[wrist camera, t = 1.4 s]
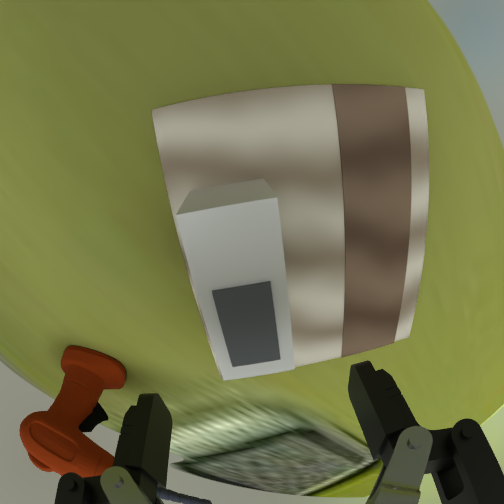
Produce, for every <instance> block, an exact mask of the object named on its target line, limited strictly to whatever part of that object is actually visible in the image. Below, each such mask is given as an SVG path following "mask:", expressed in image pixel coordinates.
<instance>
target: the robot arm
mask: <svg viewBox="0 0 504 504" xmlns="http://www.w3.org/2000/svg"><path fill="white" fill-rule="evenodd" d="M348 393H349V397H350V400H351V403H352V405H353V408H354V410H355V413H356V416H357V418H358V421H359V423H360V426H361V428H362V431H363V434H364V436H365V439H366V441H367V444H368V447H369V449H370V452H371V455H372V457H373V460H375V459H378V458H382V461H383V466H382V469H381V471H380V474H379V476H378V478H377V481H376V483H375V485H374V487H373V490H372V492H371V494H370V496H369V498H368V500H367V502H366V504H418V502H419V499H420V491H419V488H420V485H421V482H422V478H423V475H424V474H428V473H431V474H432V477H433V479H434V482H435V485H436V488H437V491H438V494H439V497H440V499H441V503H442V504H504V475H503V472H502V470H501V468H500V465H499V463H498V461H497V459H496V457H495V455H494V453H493V451H492V449H491V447H490V445H489V443H488V441H487V439H486V437H485V435H484V433H483V431H482V429H481V427H480V425H479V424H478V423H477V422H476V421H474V420H472V419H462V420H460V421H458V422H457V423H456V424H455V425H454V427H453V428H447V429H441V430H428V429H426V428H424V427H421V426H420V425H419V424H418V423H417V421H416V420H415V418H414V416H413V414H412V412H411V410H410V408H409V407H408V405H407V403H406V401H405V399H404V397H403V395H401V392H400V390H399V388H397V385H396V383H395V381H394V379H393V377H392V376H391V375H390V374H388V373H387V372H386V371H385V370H383V369H381V370H377V371H375V369H374V367H373V366H372V364H371V362H370V361H364V362H361V363H357V364H353V365H351V368H350V376H349V384H348ZM122 425H123V426H122V428H121V432H120V433H121V435H120V436H119V440H118V444H117V449H116V453H115V458H114V462H113V465H112V467H110V468H108V469H106V470H105V471H104V472H103V474H102V475H99V476H92V477H84V478H82V477H81V476H80V475H78V474H77V473H74V472H69V473H66V474H64V475H63V476H62V477H61V478H60V480H59V483H58V488H57V493H56V498H55V504H164V503H163V502H162V500H161V499H160V498H159V496H158V495H157V487H164V488H166V481H167V468H168V459H169V450H170V441H171V432H172V417H171V414H170V412H169V410H168V409H167V407H166V405H165V404H164V402H163V400H162V399H161V397H160V395H159V394H157V393H152V394H140V395H139V398H138V402H137V406H131V407H130V408H129V409H128V411H127V412H126V414H125V416H124V420H123V424H122Z"/></svg>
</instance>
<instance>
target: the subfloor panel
mask: <svg viewBox="0 0 504 504" xmlns="http://www.w3.org/2000/svg"><path fill="white" fill-rule="evenodd" d="M151 111H152V117H153V122H154V128H155V133H156V139H157V144H158V149H159V154H160V159H161V164H162V169H163V174H164V178H165V183H166V187H167V192H168V196H169V201H170V205H171V209H172V213H173V217H174V222H175V226H176V230H177V234H178V238H179V241H180V245H181V249H182V253H183V257H184V260H185V264H186V268H187V271H188V275H189V278H190V282H191V285H192V289H193V292H194V296H195V299H196V302H197V306H198V309H199V312H200V316H201V319H202V322H203V325H204V329H205V332H206V335H207V338H208V341H209V344H210V347H211V350H212V353H213V356H214V359H215V362H216V365H217V368H218V371H219V374H220V376H221V379H222V378H223V377H222V374H221V371H220V368H219V365H218V362H217V359H216V356H215V353H214V350H213V347H212V343H211V340H210V337H209V334H208V331H207V328H206V324H205V321H204V318H203V315H202V311H201V308H200V304H199V301H198V298H197V294H196V291H195V287H194V284H193V280H192V277H191V273H190V269H189V266H188V262H187V258H186V254H185V251H184V247H183V243H182V239H181V235H180V231H179V227H178V223H177V219H176V214H177V212H178V210H179V208H180V207H181V205H182V203H183V202H184V200H185V198H186V196H187V195H188V193H189V191H193V190H198V189H203V188H209V187H214V186H220V185H225V184H231V183H237V182H243V181H249V180H255V179H262V178H264V179H265V181H266V182H267V183H268V185H269V186H270V188H271V189H272V191H273V192H274V193H275V195H276V196H277V200H278V208H279V216H280V224H281V233H282V241H283V250H284V259H285V268H286V278H287V288H288V298H289V308H290V319H291V330H292V341H293V353H294V366H295V367H297V366H302V365H307V364H311V363H316V362H321V361H325V360H329V359H333V358H337V357H346V356H350V355H354V354H357V353H361V352H365V351H368V350H372V349H375V348H379V347H382V346H385V345H388V344H392V343H394V342H395V341H398V340H401V339H404V338H407V337H409V335H410V331H411V326H412V322H413V317H414V313H415V308H416V303H417V297H418V292H419V286H420V280H421V273H422V266H423V259H424V251H425V242H426V231H427V218H428V200H429V145H428V127H427V114H426V104H425V95H424V89H415V88H406V87H397V86H383V85H361V84H332V85H304V86H289V87H277V88H266V89H257V90H249V91H242V92H235V93H229V94H222V95H217V96H211V97H206V98H200V99H195V100H191V101H186V102H182V103H177V104H173V105H169V106H165V107H161V108H157V109H153V110H151Z"/></svg>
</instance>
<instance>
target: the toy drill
mask: <svg viewBox="0 0 504 504" xmlns="http://www.w3.org/2000/svg"><path fill="white" fill-rule="evenodd" d="M61 367H62V370H63V371H64V372H65V377H64V380H63V384H62V387H61V390H60V393H59V394H58V396H57V398H56V399H55V401H54V403H53V404H52V406H51V407H50V408H49V410H48V411H39V412H34V413H32V414H30V415H28V416H27V417H26V418H25V419H24V420H23V421H22V423H21V425H20V437H21V440H22V443H23V445H24V447H25V448H26V450H27V451H28V455H29V458H30V460H31V461H32V462H33V464H34V465H35V466H36V467H38V468H39V469H41V470H42V471H46V472H52V471H54V472H56V473H59V474H60V475H61V476H63V475H64V474H66V473H69V472H74V473H77V474H78V475H80V476H81V477H82V478H84V477H92V476H99V475H102V474H103V472H104V471H105V470H106V469H108V468H110V467H112V465H113V462H114V458H115V457H114V456H112V455H111V454H110V453H108V452H107V451H106V450H104V449H103V448H101V447H100V446H98V445H97V444H96V443H94V442H93V441H92V440H90V439H89V438H88V437H87V436H85V435H84V434H83V433H82V432H91V431H92V430H93V429H94V427H95V426H96V425H97V424H99V423H101V422H102V421H106V420H108V416H107V414H106V412H105V411H104V409H103V408H102V407H101V405H100V404H99V403H98V400H99V398H100V396H101V394H102V392H103V390H104V389H120V388H122V387H123V386H124V384H125V381H126V371H125V368H124V367H123V365H122V364H121V363H120V362H118V361H117V360H115V359H114V358H112V357H110V356H107V355H105V354H102V353H100V352H97V351H94V350H91V349H87V348H84V347H79V346H69V347H67V348H66V349H65V351H64V353H63V356H62V359H61ZM157 495H158V496H159V497H160V498H161V499H165V500H171V501H174V502H179V503H181V502H182V503H183V504H212V503H211V501H209V500H206V499H199V498H197V497H192V496H188V495H184V494H180V493H177V492H174V491H172V490H167V489H166V488H163V487H157Z"/></svg>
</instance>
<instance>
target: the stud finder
mask: <svg viewBox="0 0 504 504" xmlns="http://www.w3.org/2000/svg"><path fill="white" fill-rule="evenodd" d="M176 219H177V223H178V227H179V231H180V235H181V239H182V243H183V247H184V251H185V254H186V258H187V262H188V266H189V269H190V273H191V277H192V280H193V284H194V287H195V291H196V294H197V298H198V301H199V304H200V308H201V311H202V315H203V318H204V321H205V324H206V328H207V331H208V334H209V337H210V340H211V343H212V347H213V350H214V353H215V356H216V359H217V362H218V365H219V368H220V371H221V374H222V377H223V379H224V380H232V379H239V378H246V377H253V376H260V375H266V374H272V373H277V372H283V371H288V370H293V369H295V366H294V353H293V341H292V330H291V319H290V308H289V298H288V288H287V278H286V268H285V259H284V250H283V241H282V233H281V224H280V216H279V208H278V200H277V196H276V195H275V193H274V192H273V191H272V189H271V188H270V186H269V185H268V183H267V182H266V181H265V179H264V178H262V179H255V180H249V181H243V182H237V183H231V184H225V185H220V186H214V187H209V188H203V189H198V190H193V191H189V193H188V195H187V196H186V198H185V200H184V202H183V203H182V205H181V207H180V208H179V210H178V212H177V214H176Z"/></svg>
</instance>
